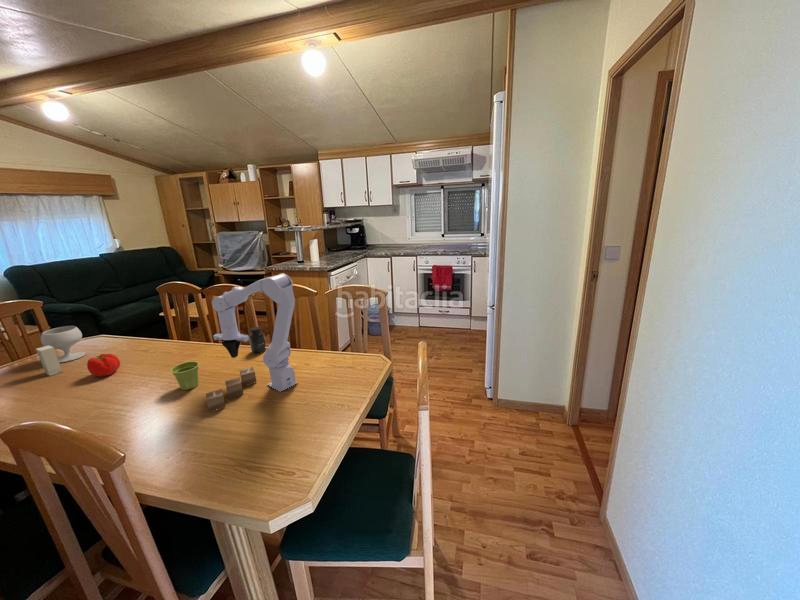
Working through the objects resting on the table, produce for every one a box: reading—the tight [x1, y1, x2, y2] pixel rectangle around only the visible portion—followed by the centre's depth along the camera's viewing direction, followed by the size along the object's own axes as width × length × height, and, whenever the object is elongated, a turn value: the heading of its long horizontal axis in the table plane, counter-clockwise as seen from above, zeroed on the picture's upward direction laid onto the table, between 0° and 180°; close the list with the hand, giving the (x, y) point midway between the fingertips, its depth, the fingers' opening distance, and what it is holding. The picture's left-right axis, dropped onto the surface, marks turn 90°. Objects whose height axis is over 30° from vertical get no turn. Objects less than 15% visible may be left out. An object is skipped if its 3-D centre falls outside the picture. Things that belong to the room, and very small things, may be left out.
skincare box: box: [35, 345, 63, 376], centre depth 142 cm, size 6×4×12 cm
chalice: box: [40, 325, 86, 364], centre depth 157 cm, size 14×14×15 cm
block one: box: [205, 388, 226, 412], centre depth 113 cm, size 5×5×5 cm
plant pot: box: [170, 360, 200, 391], centre depth 126 cm, size 9×9×9 cm
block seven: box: [239, 366, 257, 387], centre depth 129 cm, size 5×5×5 cm
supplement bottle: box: [248, 326, 267, 355], centre depth 157 cm, size 7×7×12 cm
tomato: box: [86, 353, 121, 377], centre depth 140 cm, size 11×11×9 cm
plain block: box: [224, 376, 244, 399], centre depth 121 cm, size 5×5×5 cm
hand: (234, 356), depth 128 cm, fingers closed
